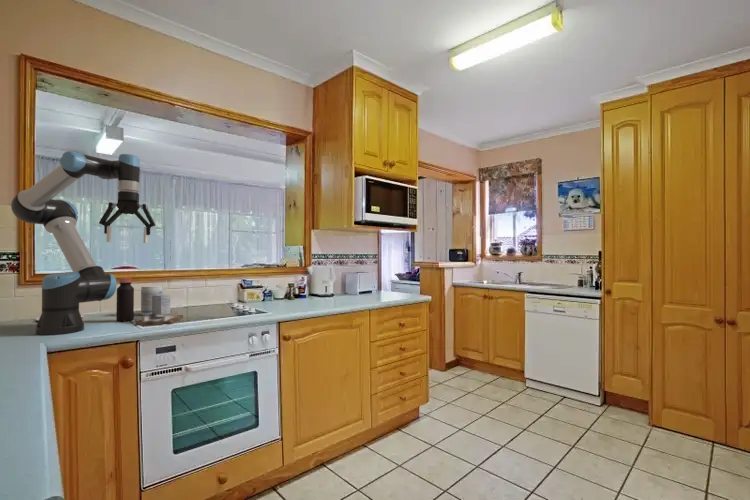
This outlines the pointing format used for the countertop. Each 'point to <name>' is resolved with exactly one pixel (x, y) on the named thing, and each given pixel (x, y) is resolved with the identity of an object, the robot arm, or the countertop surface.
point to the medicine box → (161, 304)
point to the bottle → (125, 300)
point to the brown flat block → (159, 319)
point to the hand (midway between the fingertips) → (127, 242)
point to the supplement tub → (148, 298)
